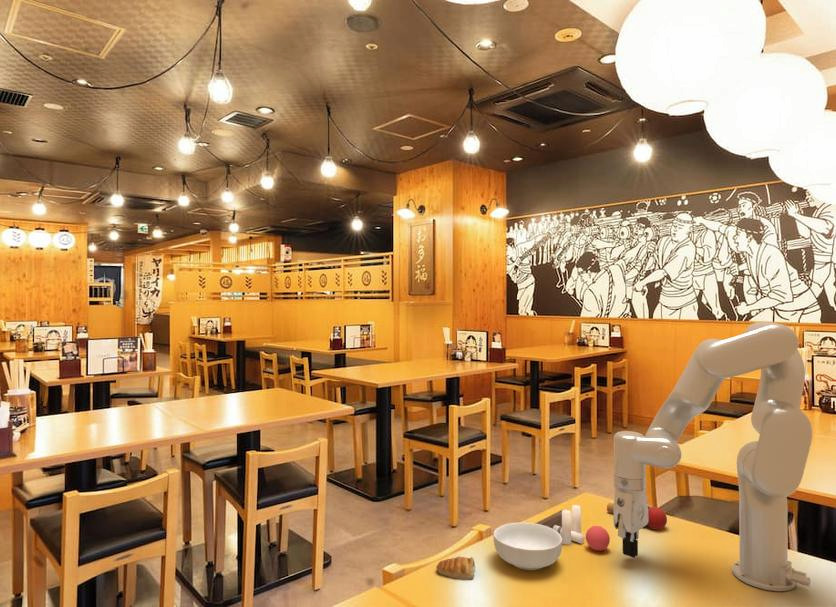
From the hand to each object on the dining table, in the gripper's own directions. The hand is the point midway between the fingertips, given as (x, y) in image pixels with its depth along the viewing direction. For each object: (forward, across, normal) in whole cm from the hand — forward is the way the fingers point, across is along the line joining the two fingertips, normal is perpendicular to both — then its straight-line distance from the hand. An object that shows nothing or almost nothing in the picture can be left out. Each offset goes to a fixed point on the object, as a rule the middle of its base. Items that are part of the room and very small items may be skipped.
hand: (630, 554), depth 136 cm
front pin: (0, 0, +13) cm, 13 cm away
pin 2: (+2, +2, +16) cm, 17 cm away
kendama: (+2, +25, +10) cm, 27 cm away
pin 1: (+2, -2, +16) cm, 17 cm away
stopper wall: (+2, 0, +24) cm, 24 cm away
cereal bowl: (+2, -19, +18) cm, 26 cm away
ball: (-2, 0, +9) cm, 9 cm away
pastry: (+2, -35, +26) cm, 44 cm away
